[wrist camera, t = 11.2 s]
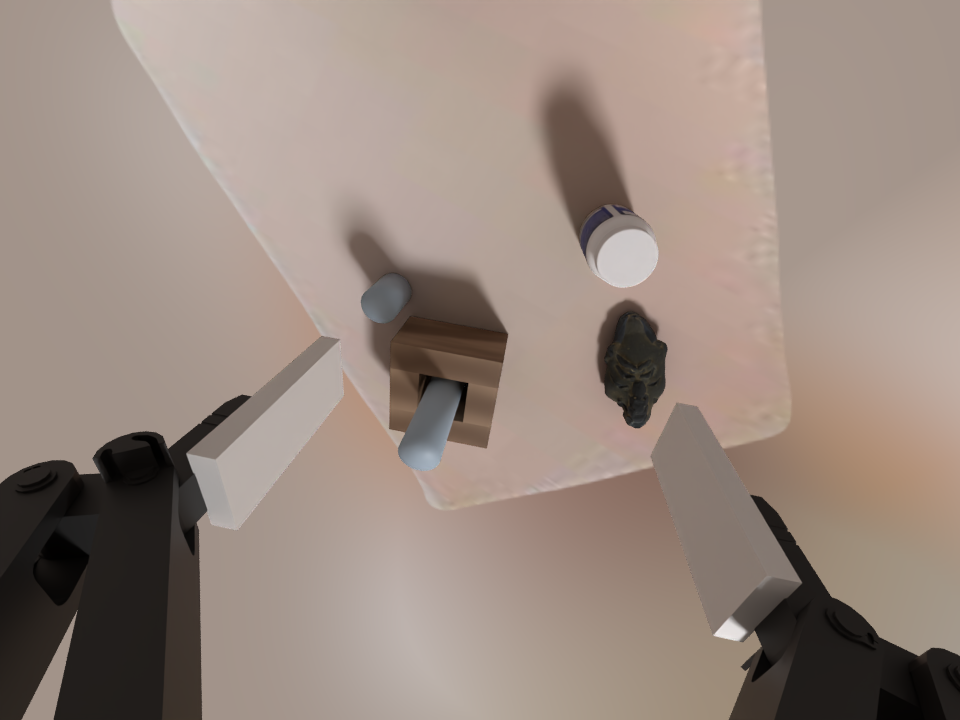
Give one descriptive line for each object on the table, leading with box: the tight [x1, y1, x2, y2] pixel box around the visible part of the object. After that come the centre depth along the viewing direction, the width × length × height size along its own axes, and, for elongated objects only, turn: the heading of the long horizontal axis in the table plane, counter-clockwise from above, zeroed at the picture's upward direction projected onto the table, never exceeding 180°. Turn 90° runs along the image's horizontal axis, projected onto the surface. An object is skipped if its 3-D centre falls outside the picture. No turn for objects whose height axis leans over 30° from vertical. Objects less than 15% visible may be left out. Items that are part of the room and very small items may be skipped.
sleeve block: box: [389, 316, 508, 448], centre depth 46 cm, size 12×12×7 cm
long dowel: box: [398, 376, 465, 471], centre depth 42 cm, size 4×4×16 cm
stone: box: [604, 311, 667, 428], centre depth 43 cm, size 7×13×5 cm, turn 10°
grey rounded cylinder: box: [361, 273, 411, 323], centre depth 42 cm, size 4×4×5 cm
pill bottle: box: [579, 204, 658, 287], centre depth 34 cm, size 6×6×10 cm
